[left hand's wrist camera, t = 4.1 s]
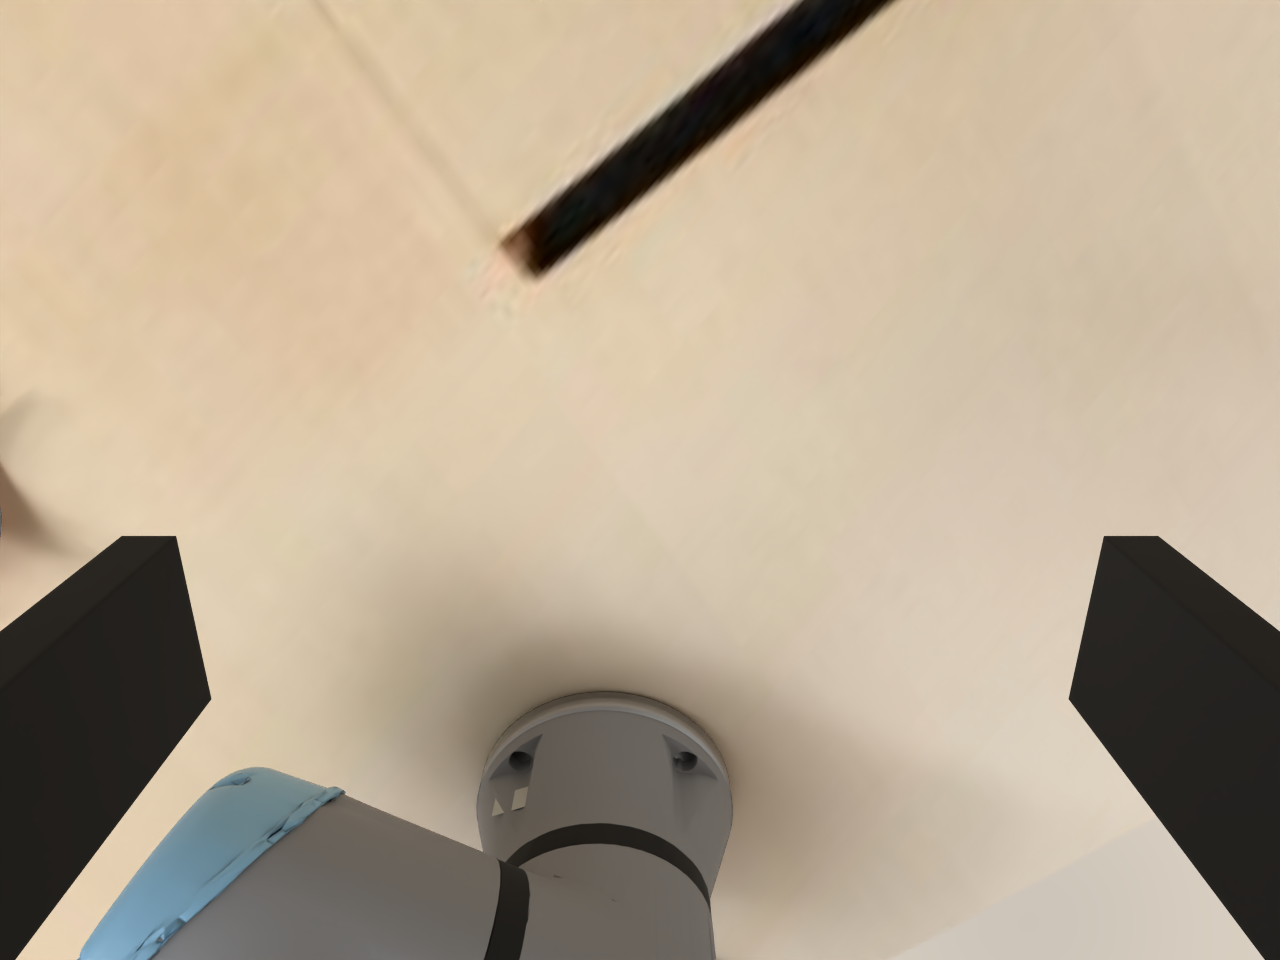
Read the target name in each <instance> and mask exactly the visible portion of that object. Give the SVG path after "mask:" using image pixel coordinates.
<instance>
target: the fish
mask: <svg viewBox="0 0 1280 960" xmlns="http://www.w3.org/2000/svg"><path fill="white" fill-rule="evenodd" d="M1 519H2V515H1V509H0V535H1Z"/></svg>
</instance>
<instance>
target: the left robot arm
mask: <svg viewBox="0 0 1280 960" xmlns="http://www.w3.org/2000/svg"><path fill="white" fill-rule="evenodd" d="M210 700H211V695H210V691H209V686H208V681H207V677H206V672H205V668H204V663H203V658H202V654H201V649H200V644H199V640H198V635H197V631H196V626H195V621H194V617H193V612H192V608H191V603H190V598H189V594H188V589H187V585H186V580H185V575H184V571H183V566H182V561H181V557H180V552H179V548H178V543H177V538H176V536H121V537H120V538H119V539H118V540H116V541H115V542H114V543H112V544H111V545H110V546H109V547H107V548H106V549H105V550H104V551H102V552H101V553H100V554H98V555H97V556H96V557H95V558H93V559H92V560H91V561H89V562H88V563H87V564H86V565H84V566H83V567H82V568H81V569H79V570H78V571H77V572H75V573H74V574H73V575H72V576H70V577H69V578H68V579H67V580H65V581H64V582H63V583H61V584H60V585H59V586H58V587H56V588H55V589H54V590H53V591H51V592H50V593H49V594H47V595H46V596H45V597H44V598H42V599H41V600H40V601H39V602H37V603H36V604H35V605H33V606H32V607H31V608H30V609H28V610H27V611H26V612H25V613H23V614H22V615H21V616H19V617H18V618H17V619H16V620H14V621H13V622H12V623H10V624H9V625H8V626H7V627H5V628H4V629H3V630H2V631H0V960H15V959H16V958H17V957H18V955H19V954H20V953H21V951H22V950H23V949H24V947H25V946H26V945H27V943H28V942H29V941H30V939H31V938H32V937H33V935H34V934H35V933H36V931H37V930H38V929H39V927H40V926H41V925H42V923H43V922H44V921H45V919H46V918H47V917H48V915H49V914H50V913H51V911H52V910H53V909H54V907H55V906H56V905H57V903H58V902H59V901H60V899H61V898H62V897H63V896H64V894H65V893H66V892H67V890H68V889H69V888H70V886H71V885H72V884H73V882H74V881H75V880H76V878H77V877H78V876H79V874H80V873H81V872H82V870H83V869H84V868H85V866H86V865H87V864H88V862H89V861H90V860H91V858H92V857H93V856H94V854H95V853H96V852H97V850H98V849H99V848H100V846H101V845H102V844H103V842H104V841H105V840H106V838H107V837H108V836H109V834H110V833H111V832H112V830H113V829H114V828H115V826H116V825H117V824H118V822H119V821H120V820H121V818H122V817H123V816H124V814H125V813H126V812H127V810H128V809H129V808H130V806H131V805H132V804H133V802H134V801H135V800H136V799H137V797H138V796H139V795H140V793H141V792H142V791H143V789H144V788H145V787H146V785H147V784H148V783H149V781H150V780H151V779H152V777H153V776H154V775H155V773H156V772H157V771H158V769H159V768H160V767H161V765H162V764H163V763H164V761H165V760H166V759H167V757H168V756H169V755H170V753H171V752H172V751H173V749H174V748H175V747H176V745H177V744H178V743H179V741H180V740H181V739H182V737H183V736H184V735H185V733H186V732H187V731H188V729H189V728H190V727H191V725H192V724H193V723H194V721H195V720H196V719H197V717H198V716H199V715H200V713H201V712H202V711H203V709H204V708H205V707H206V705H207V704H208V703H209V702H210ZM1069 700H1070V702H1071V703H1072V704H1073V706H1074V707H1075V708H1076V709H1077V711H1078V712H1079V713H1080V715H1081V716H1082V717H1083V719H1084V720H1085V721H1086V723H1087V724H1088V725H1089V727H1090V728H1091V729H1092V731H1093V732H1094V733H1095V735H1096V736H1097V737H1098V739H1099V740H1100V741H1101V743H1102V744H1103V745H1104V747H1105V748H1106V749H1107V751H1108V752H1109V753H1110V755H1111V756H1112V757H1113V759H1114V760H1115V761H1116V763H1117V764H1118V765H1119V767H1120V768H1121V769H1122V771H1123V772H1124V773H1125V775H1126V776H1127V777H1128V779H1129V780H1130V781H1131V783H1132V784H1133V785H1134V787H1135V788H1136V789H1137V791H1138V792H1139V793H1140V795H1141V796H1142V797H1143V799H1144V800H1145V801H1146V802H1147V804H1148V805H1149V806H1150V808H1151V809H1152V810H1153V812H1154V813H1155V814H1156V816H1157V817H1158V818H1159V820H1160V821H1161V822H1162V824H1163V825H1164V826H1165V828H1166V829H1167V830H1168V832H1169V833H1170V834H1171V836H1172V837H1173V838H1174V840H1175V841H1176V842H1177V844H1178V845H1179V846H1180V848H1181V849H1182V850H1183V852H1184V853H1185V854H1186V856H1187V857H1188V858H1189V860H1190V861H1191V862H1192V864H1193V865H1194V866H1195V868H1196V869H1197V870H1198V872H1199V873H1200V874H1201V876H1202V877H1203V878H1204V880H1205V881H1206V882H1207V884H1208V885H1209V886H1210V887H1211V889H1212V890H1213V892H1214V893H1215V894H1216V896H1217V897H1218V898H1219V899H1220V901H1221V902H1222V903H1223V905H1224V906H1225V907H1226V909H1227V910H1228V911H1229V913H1230V914H1231V915H1232V917H1233V918H1234V919H1235V921H1236V922H1237V923H1238V925H1239V926H1240V927H1241V929H1242V930H1243V931H1244V933H1245V934H1246V935H1247V937H1248V938H1249V939H1250V941H1251V942H1252V943H1253V945H1254V946H1255V947H1256V949H1257V950H1258V951H1259V953H1260V954H1261V955H1262V957H1263V958H1264V959H1265V960H1280V631H1278V630H1277V629H1276V628H1275V627H1273V626H1272V625H1271V624H1270V623H1268V622H1267V621H1266V620H1264V619H1263V618H1262V617H1261V616H1259V615H1258V614H1257V613H1255V612H1254V611H1253V610H1252V609H1250V608H1249V607H1248V606H1247V605H1245V604H1244V603H1243V602H1241V601H1240V600H1239V599H1238V598H1236V597H1235V596H1234V595H1233V594H1231V593H1230V592H1229V591H1227V590H1226V589H1225V588H1224V587H1222V586H1221V585H1220V584H1219V583H1217V582H1216V581H1215V580H1213V579H1212V578H1211V577H1210V576H1208V575H1207V574H1206V573H1205V572H1203V571H1202V570H1201V569H1199V568H1198V567H1197V566H1196V565H1194V564H1193V563H1192V562H1191V561H1189V560H1188V559H1187V558H1185V557H1184V556H1183V555H1182V554H1180V553H1179V552H1178V551H1176V550H1175V549H1174V548H1173V547H1171V546H1170V545H1169V544H1168V543H1166V542H1165V541H1164V540H1162V539H1161V538H1160V537H1159V536H1104V538H1103V543H1102V548H1101V552H1100V557H1099V561H1098V566H1097V571H1096V575H1095V580H1094V585H1093V589H1092V594H1091V598H1090V603H1089V608H1088V612H1087V617H1086V621H1085V626H1084V631H1083V635H1082V640H1081V644H1080V649H1079V654H1078V658H1077V663H1076V668H1075V672H1074V677H1073V681H1072V686H1071V691H1070V695H1069ZM732 817H733V806H732V798H731V791H730V784H729V777H728V773H727V769H726V766H725V763H724V761H723V758H722V756H721V754H720V752H719V751H718V749H717V747H716V746H715V744H714V743H713V741H712V740H711V739H710V738H709V736H708V735H707V734H706V733H705V732H704V731H703V730H702V729H701V728H700V727H699V726H698V725H697V724H696V723H694V722H693V721H692V720H690V719H689V718H688V717H687V716H685V715H683V714H682V713H680V712H679V711H677V710H675V709H673V708H671V707H669V706H667V705H665V704H662V703H660V702H657V701H655V700H652V699H649V698H645V697H642V696H637V695H632V694H626V693H618V692H590V693H582V694H576V695H571V696H566V697H563V698H559V699H556V700H553V701H551V702H548V703H546V704H543V705H541V706H539V707H537V708H535V709H533V710H532V711H530V712H528V713H527V714H525V715H524V716H522V717H521V718H520V719H518V720H517V721H516V722H515V723H513V724H512V725H511V726H510V727H509V728H508V729H507V730H506V731H505V732H504V733H503V735H502V736H501V737H500V738H499V739H498V741H497V742H496V744H495V745H494V747H493V748H492V750H491V752H490V754H489V756H488V759H487V762H486V764H485V767H484V771H483V775H482V779H481V784H480V788H479V792H478V798H477V819H478V826H479V832H480V837H481V842H482V847H483V852H481V851H479V850H476V849H474V848H471V847H469V846H467V845H464V844H462V843H459V842H457V841H454V840H452V839H449V838H447V837H445V836H442V835H440V834H437V833H435V832H432V831H430V830H427V829H425V828H423V827H420V826H418V825H415V824H413V823H410V822H408V821H405V820H403V819H401V818H398V817H396V816H393V815H391V814H388V813H386V812H384V811H381V810H379V809H376V808H374V807H371V806H369V805H367V804H365V803H362V802H360V801H358V800H355V799H353V798H351V797H349V796H346V795H345V791H344V790H342V789H340V788H338V787H330V788H326V787H323V786H320V785H317V784H314V783H311V782H308V781H305V780H302V779H299V778H296V777H293V776H290V775H287V774H284V773H281V772H278V771H276V770H273V769H270V768H264V767H252V768H247V769H243V770H239V771H236V772H234V773H232V774H230V775H228V776H226V777H225V778H223V779H221V780H220V781H218V782H217V783H216V784H215V785H213V786H212V787H211V788H210V789H209V790H208V791H207V792H206V793H205V794H203V795H202V796H201V797H200V798H199V799H198V800H197V801H196V802H195V804H194V805H193V806H192V807H191V808H190V809H189V810H188V811H187V812H186V813H185V814H184V816H183V817H182V818H181V819H180V820H179V821H178V822H177V823H176V825H175V826H174V827H173V828H172V829H171V831H170V832H169V833H168V834H167V835H166V837H165V838H164V839H163V840H162V841H161V843H160V844H159V845H158V846H157V848H156V849H155V850H154V851H153V853H152V854H151V855H150V856H149V858H148V859H147V860H146V861H145V863H144V864H143V865H142V866H141V868H140V869H139V870H138V872H137V873H136V874H135V876H134V877H133V878H132V879H131V881H130V882H129V883H128V885H127V886H126V887H125V889H124V890H123V891H122V893H121V894H120V895H119V897H118V898H117V899H116V901H115V902H114V903H113V905H112V906H111V908H110V909H109V910H108V912H107V913H106V914H105V916H104V917H103V919H102V920H101V921H100V923H99V924H98V926H97V927H96V929H95V930H94V931H93V933H92V934H91V936H90V937H89V939H88V940H87V942H86V943H85V945H84V946H83V948H82V950H81V953H80V957H79V958H78V959H77V960H716V955H715V945H714V935H713V925H712V918H711V907H710V897H711V894H712V891H713V887H714V884H715V881H716V878H717V874H718V871H719V868H720V864H721V861H722V858H723V855H724V851H725V848H726V845H727V841H728V838H729V834H730V830H731V826H732Z"/></svg>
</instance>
